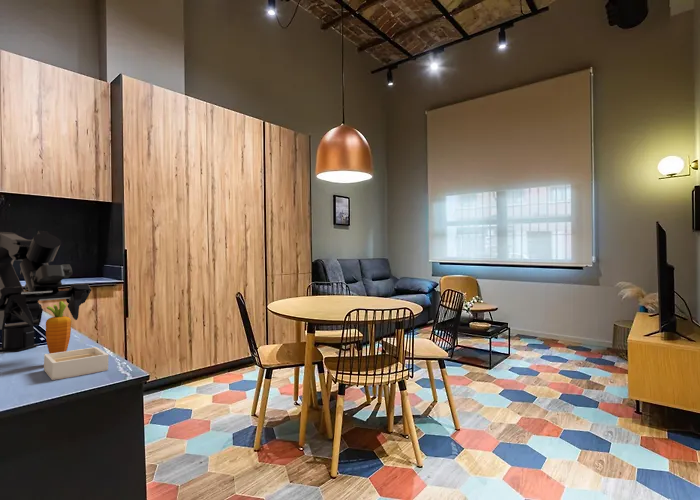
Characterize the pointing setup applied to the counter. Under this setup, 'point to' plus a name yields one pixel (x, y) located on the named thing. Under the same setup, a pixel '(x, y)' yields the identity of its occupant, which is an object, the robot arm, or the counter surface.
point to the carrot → (58, 330)
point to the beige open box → (75, 363)
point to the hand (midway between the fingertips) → (55, 321)
